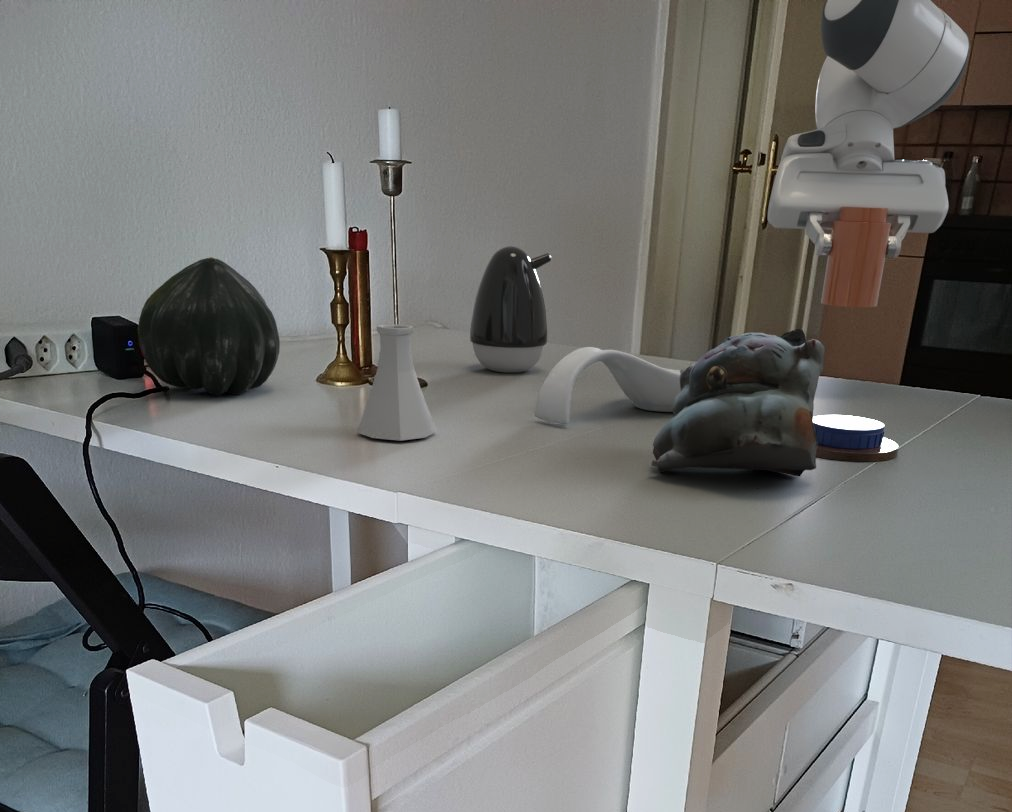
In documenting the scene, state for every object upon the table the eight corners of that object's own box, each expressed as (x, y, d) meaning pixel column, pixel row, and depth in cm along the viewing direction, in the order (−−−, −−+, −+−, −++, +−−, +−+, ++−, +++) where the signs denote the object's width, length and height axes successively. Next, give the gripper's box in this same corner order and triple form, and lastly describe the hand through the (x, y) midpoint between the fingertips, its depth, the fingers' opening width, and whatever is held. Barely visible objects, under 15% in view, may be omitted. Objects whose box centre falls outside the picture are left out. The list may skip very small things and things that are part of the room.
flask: (449, 434, 99) (449, 326, 95) (402, 446, 93) (400, 333, 89) (392, 423, 103) (390, 319, 98) (343, 435, 97) (339, 325, 93)
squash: (181, 326, 123) (138, 229, 109) (302, 337, 122) (274, 240, 108) (152, 422, 118) (103, 332, 104) (278, 434, 117) (245, 345, 103)
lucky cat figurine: (618, 469, 88) (638, 313, 88) (700, 503, 96) (718, 360, 97) (769, 450, 77) (790, 272, 78) (846, 490, 85) (865, 329, 86)
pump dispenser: (557, 375, 132) (563, 249, 125) (479, 376, 129) (482, 247, 123) (534, 362, 141) (539, 244, 134) (461, 363, 138) (463, 243, 132)
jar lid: (792, 439, 97) (795, 420, 97) (829, 430, 102) (832, 411, 101) (859, 453, 93) (862, 433, 92) (894, 442, 98) (898, 423, 97)
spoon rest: (659, 394, 122) (665, 331, 119) (738, 410, 114) (746, 344, 111) (512, 415, 108) (514, 345, 105) (591, 436, 100) (595, 360, 97)
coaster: (871, 438, 103) (873, 430, 102) (915, 462, 94) (916, 453, 93) (776, 436, 102) (777, 429, 102) (810, 461, 93) (811, 452, 93)
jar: (863, 302, 123) (880, 207, 118) (885, 308, 117) (903, 208, 113) (812, 301, 123) (827, 205, 118) (832, 307, 117) (848, 206, 112)
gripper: (934, 183, 124) (940, 275, 119) (764, 178, 125) (764, 269, 121) (953, 140, 118) (960, 235, 113) (775, 135, 119) (775, 229, 115)
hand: (857, 252), depth 117 cm, fingers closed on jar, 6 cm apart
